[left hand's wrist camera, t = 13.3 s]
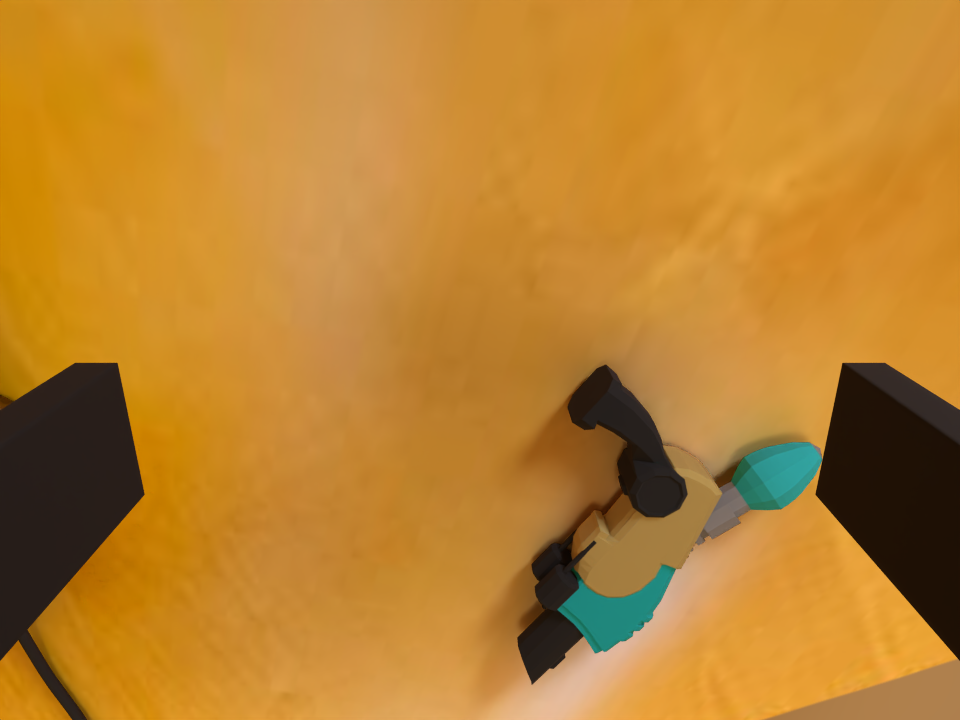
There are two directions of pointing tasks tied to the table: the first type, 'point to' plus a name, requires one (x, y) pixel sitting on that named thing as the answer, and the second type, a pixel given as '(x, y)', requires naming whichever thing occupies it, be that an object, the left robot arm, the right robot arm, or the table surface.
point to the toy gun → (643, 526)
